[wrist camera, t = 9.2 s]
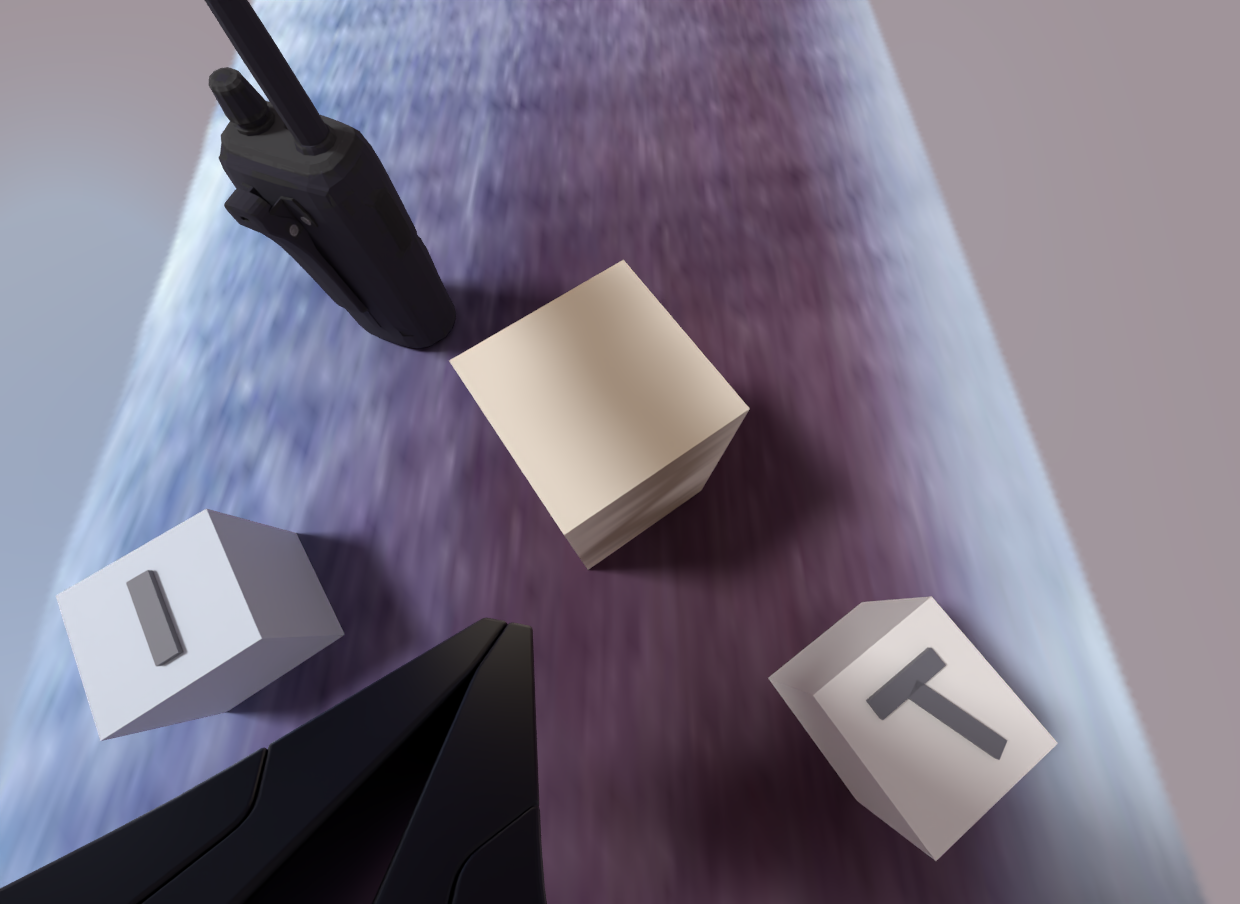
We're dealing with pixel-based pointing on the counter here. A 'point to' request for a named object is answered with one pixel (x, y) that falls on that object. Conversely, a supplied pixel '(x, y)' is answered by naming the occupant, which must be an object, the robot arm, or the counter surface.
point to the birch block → (604, 409)
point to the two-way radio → (322, 193)
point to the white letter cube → (194, 622)
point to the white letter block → (912, 718)
